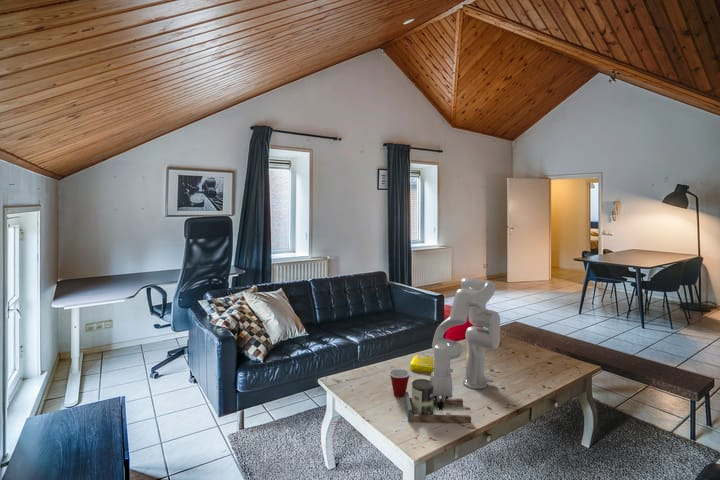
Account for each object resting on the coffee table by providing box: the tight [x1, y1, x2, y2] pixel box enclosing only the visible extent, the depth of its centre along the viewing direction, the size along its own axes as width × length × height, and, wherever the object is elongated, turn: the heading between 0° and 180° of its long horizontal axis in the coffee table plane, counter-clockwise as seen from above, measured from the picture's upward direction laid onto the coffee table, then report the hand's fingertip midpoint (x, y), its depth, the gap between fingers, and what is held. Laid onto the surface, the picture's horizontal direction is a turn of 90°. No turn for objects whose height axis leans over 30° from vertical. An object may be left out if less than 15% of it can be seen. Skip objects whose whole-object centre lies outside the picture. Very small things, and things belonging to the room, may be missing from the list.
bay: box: [404, 391, 472, 424], centre depth 180 cm, size 28×16×6 cm, turn 89°
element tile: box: [409, 354, 434, 375], centre depth 229 cm, size 15×15×5 cm
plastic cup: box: [388, 368, 411, 398], centre depth 196 cm, size 11×11×12 cm
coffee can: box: [411, 378, 434, 415], centre depth 180 cm, size 10×10×14 cm
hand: (440, 408), depth 180 cm, fingers closed
